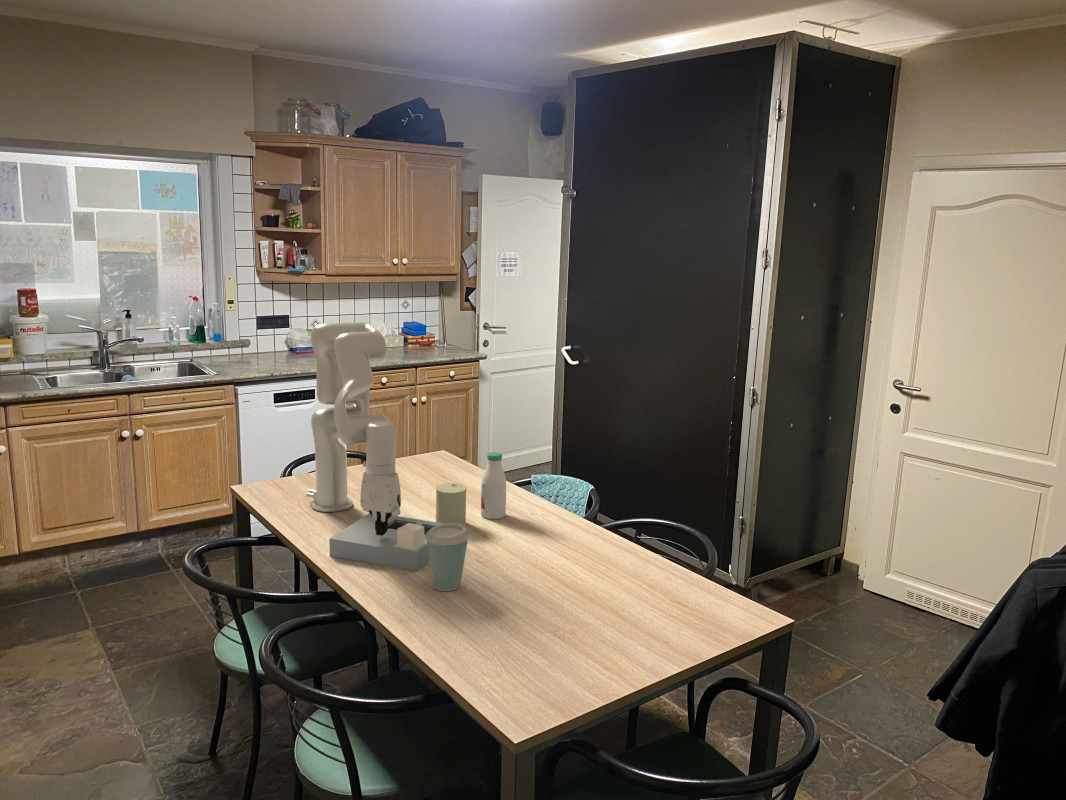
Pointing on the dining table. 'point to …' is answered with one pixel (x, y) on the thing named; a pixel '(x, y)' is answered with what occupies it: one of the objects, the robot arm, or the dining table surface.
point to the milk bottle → (493, 488)
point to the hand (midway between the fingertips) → (381, 533)
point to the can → (451, 503)
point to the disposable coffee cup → (447, 554)
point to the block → (410, 536)
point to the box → (380, 544)
